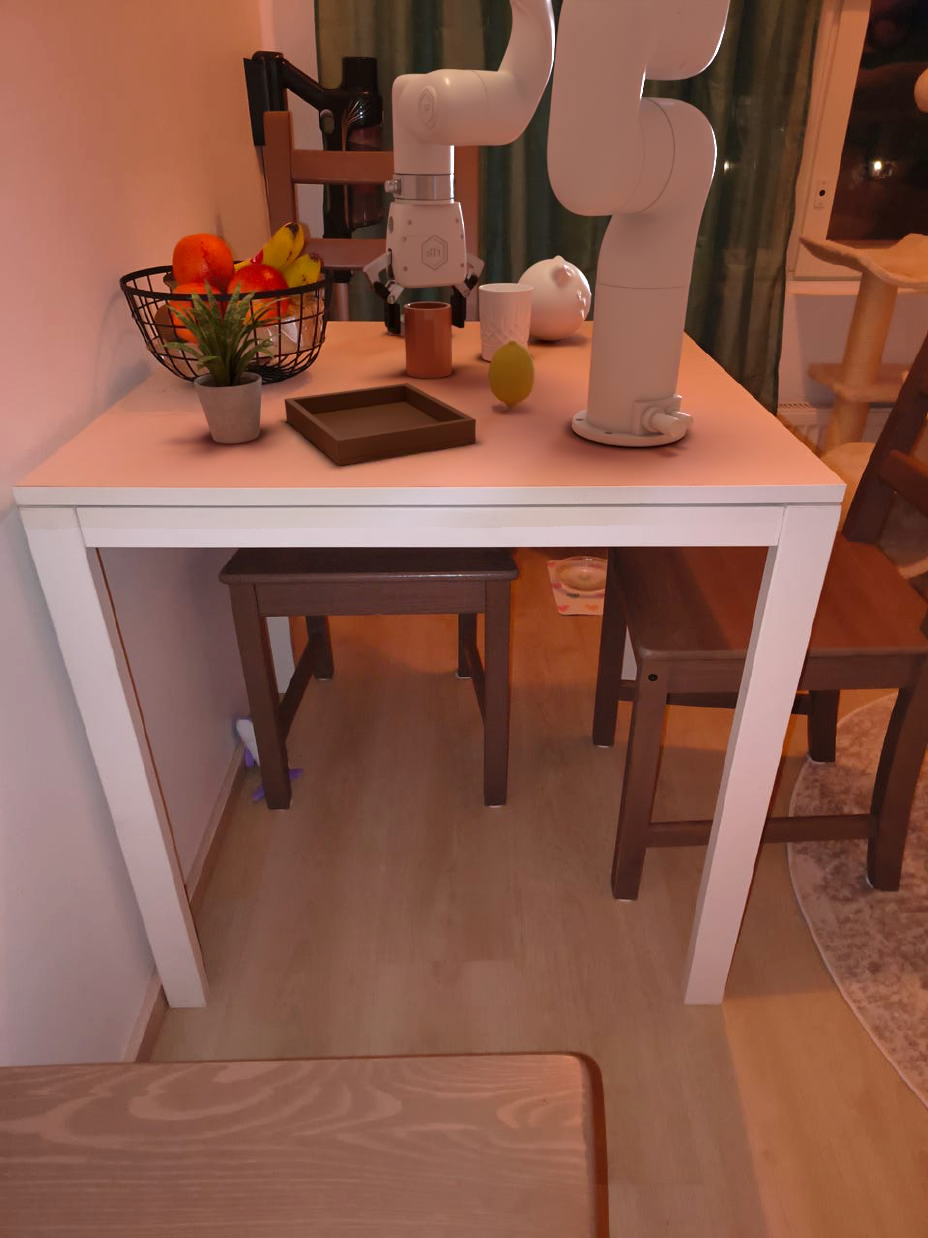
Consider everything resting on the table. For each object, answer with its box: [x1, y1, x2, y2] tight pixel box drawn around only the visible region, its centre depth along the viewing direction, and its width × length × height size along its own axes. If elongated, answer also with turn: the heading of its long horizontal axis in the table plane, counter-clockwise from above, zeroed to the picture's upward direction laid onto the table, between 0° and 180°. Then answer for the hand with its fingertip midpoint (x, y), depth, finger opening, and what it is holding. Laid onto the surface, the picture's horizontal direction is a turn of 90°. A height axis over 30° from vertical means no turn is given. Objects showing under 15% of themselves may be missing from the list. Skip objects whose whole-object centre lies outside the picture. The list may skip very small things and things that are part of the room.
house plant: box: [161, 278, 294, 444], centre depth 86 cm, size 14×14×16 cm
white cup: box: [478, 282, 533, 362], centre depth 122 cm, size 8×8×10 cm
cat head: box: [517, 255, 592, 342], centre depth 133 cm, size 15×13×12 cm
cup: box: [403, 301, 453, 379], centre depth 114 cm, size 6×6×9 cm
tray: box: [284, 382, 477, 467], centre depth 92 cm, size 18×16×3 cm
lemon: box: [488, 341, 536, 409], centre depth 99 cm, size 6×6×8 cm
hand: (426, 329), depth 114 cm, fingers open, 9 cm apart
